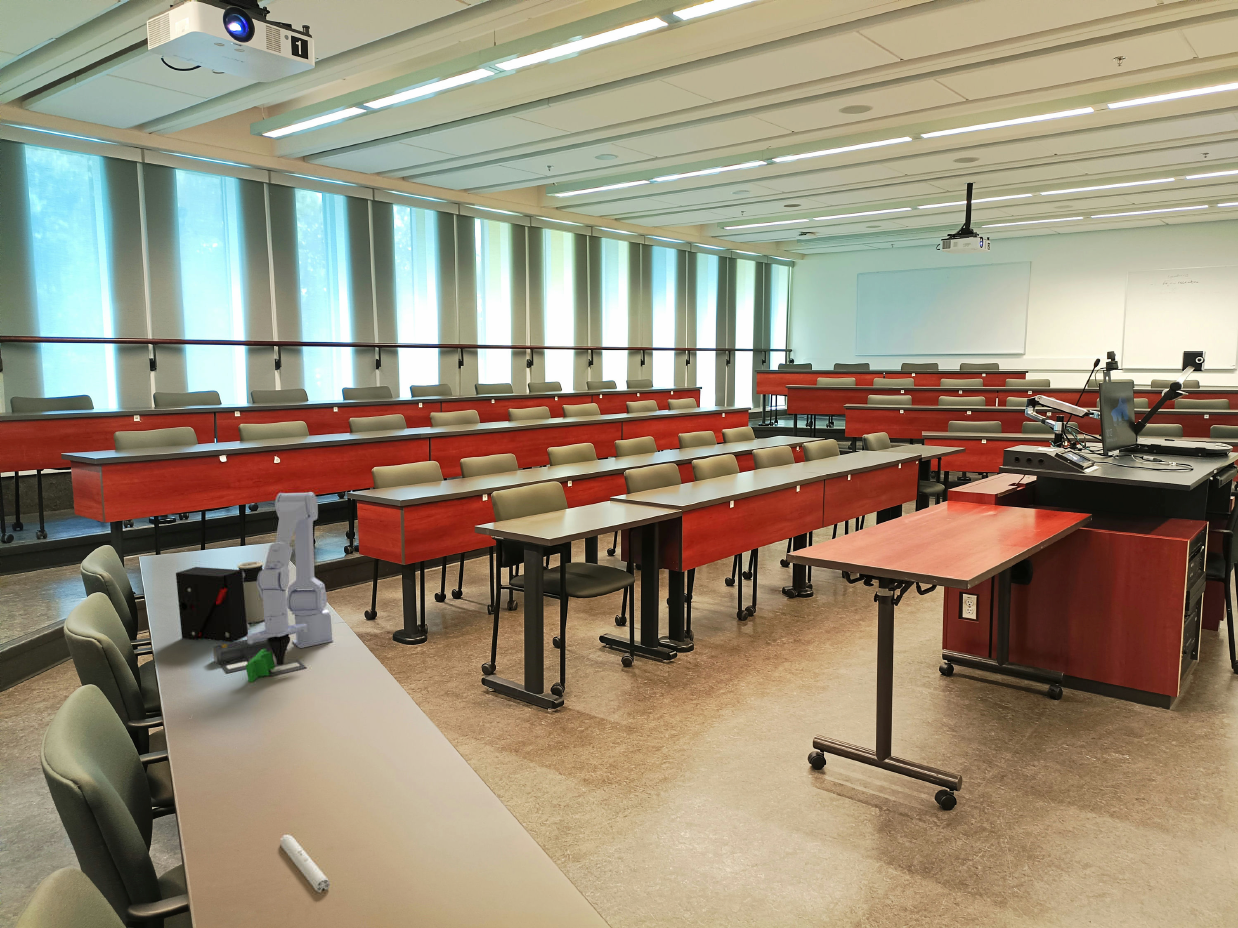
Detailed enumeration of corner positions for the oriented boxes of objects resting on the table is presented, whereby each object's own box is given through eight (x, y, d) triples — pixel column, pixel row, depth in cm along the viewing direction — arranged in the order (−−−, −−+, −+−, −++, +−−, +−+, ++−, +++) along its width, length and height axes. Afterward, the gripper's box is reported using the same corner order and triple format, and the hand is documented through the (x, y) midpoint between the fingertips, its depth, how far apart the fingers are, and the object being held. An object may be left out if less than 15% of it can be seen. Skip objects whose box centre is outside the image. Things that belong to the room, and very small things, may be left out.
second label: (297, 659, 225) (297, 658, 225) (306, 668, 219) (306, 666, 219) (262, 667, 220) (262, 666, 220) (270, 676, 214) (270, 675, 214)
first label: (247, 659, 227) (247, 658, 227) (255, 667, 221) (254, 666, 221) (220, 665, 223) (220, 664, 223) (226, 673, 217) (226, 672, 217)
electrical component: (253, 633, 250) (247, 568, 248) (227, 644, 241) (221, 576, 238) (207, 628, 256) (201, 565, 253) (180, 639, 246) (173, 573, 244)
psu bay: (282, 645, 238) (281, 630, 237) (287, 649, 234) (286, 634, 233) (214, 660, 227) (212, 644, 226) (217, 664, 223) (216, 649, 223)
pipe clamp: (263, 680, 210) (260, 663, 210) (249, 682, 210) (245, 665, 210) (279, 663, 222) (275, 646, 221) (265, 665, 221) (261, 648, 221)
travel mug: (235, 622, 262) (230, 566, 260) (255, 614, 269) (250, 560, 267) (254, 624, 259) (250, 567, 257) (274, 617, 266) (269, 561, 264)
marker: (277, 844, 138) (276, 831, 137) (290, 839, 139) (288, 826, 139) (316, 895, 124) (315, 880, 124) (330, 889, 125) (329, 874, 125)
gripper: (250, 622, 210) (254, 674, 211) (308, 611, 218) (312, 661, 220) (243, 616, 215) (247, 667, 217) (301, 605, 224) (304, 654, 225)
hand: (280, 663), depth 219 cm, fingers closed
